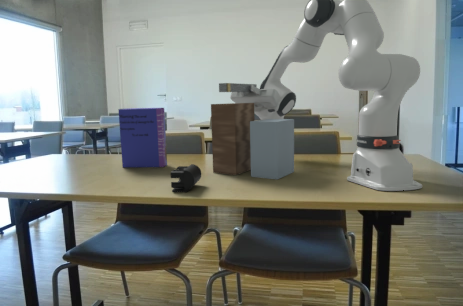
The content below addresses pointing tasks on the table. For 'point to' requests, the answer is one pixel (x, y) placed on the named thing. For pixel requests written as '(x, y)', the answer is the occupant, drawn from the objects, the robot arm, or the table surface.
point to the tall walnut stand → (231, 137)
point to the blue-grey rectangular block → (272, 148)
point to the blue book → (143, 137)
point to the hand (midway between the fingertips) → (246, 87)
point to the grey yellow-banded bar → (235, 87)
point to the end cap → (185, 177)
